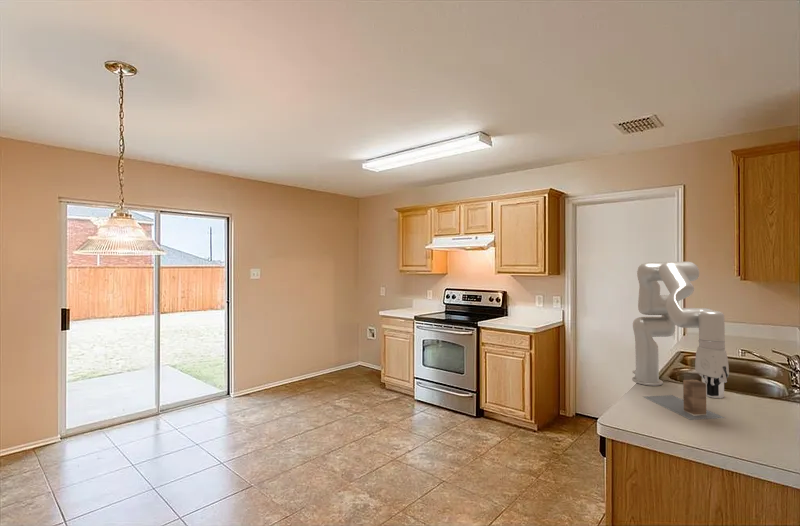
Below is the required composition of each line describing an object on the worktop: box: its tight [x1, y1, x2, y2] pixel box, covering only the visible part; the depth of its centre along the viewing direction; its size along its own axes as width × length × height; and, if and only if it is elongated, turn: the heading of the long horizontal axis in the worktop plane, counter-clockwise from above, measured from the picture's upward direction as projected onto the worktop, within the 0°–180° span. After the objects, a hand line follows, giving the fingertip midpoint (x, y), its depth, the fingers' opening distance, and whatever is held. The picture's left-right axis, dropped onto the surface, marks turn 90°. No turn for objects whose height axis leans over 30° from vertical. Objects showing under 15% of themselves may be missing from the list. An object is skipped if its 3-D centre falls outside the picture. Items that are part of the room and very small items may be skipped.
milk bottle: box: [701, 376, 725, 399], centre depth 176 cm, size 8×8×20 cm
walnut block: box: [682, 379, 707, 416], centre depth 156 cm, size 5×5×12 cm
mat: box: [643, 394, 726, 421], centre depth 163 cm, size 26×14×1 cm, turn 5°
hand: (712, 395), depth 148 cm, fingers closed
